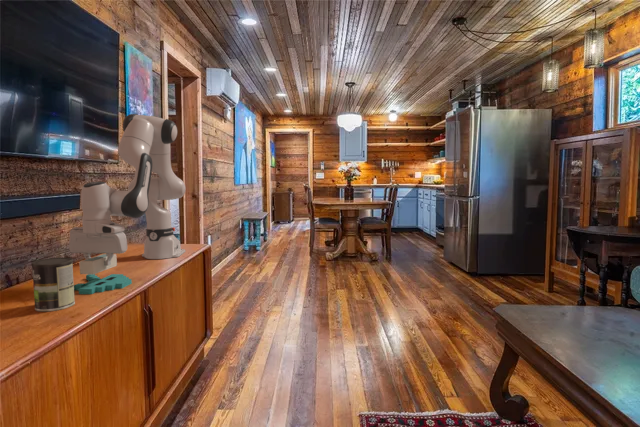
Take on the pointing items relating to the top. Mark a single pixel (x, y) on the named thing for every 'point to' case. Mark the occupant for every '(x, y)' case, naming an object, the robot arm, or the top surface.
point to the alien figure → (102, 283)
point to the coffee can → (53, 284)
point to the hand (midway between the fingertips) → (99, 265)
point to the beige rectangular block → (96, 264)
